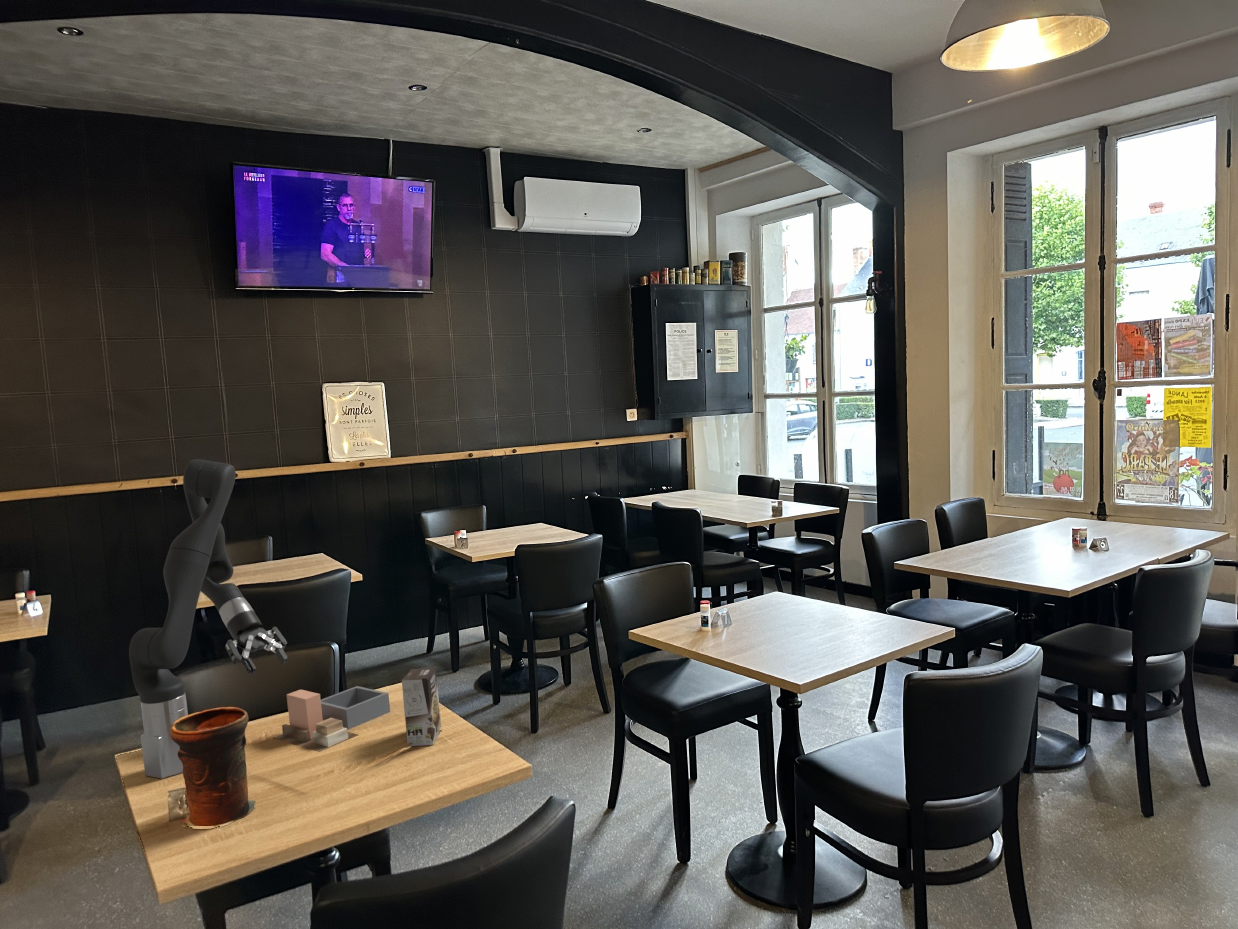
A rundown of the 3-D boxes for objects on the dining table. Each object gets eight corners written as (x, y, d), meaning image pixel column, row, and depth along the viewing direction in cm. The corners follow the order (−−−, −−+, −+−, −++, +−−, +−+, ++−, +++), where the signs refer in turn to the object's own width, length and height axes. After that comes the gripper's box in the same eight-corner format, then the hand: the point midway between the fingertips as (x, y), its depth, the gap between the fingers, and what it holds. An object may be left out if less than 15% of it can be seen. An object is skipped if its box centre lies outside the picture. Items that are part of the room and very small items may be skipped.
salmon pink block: (290, 733, 215) (286, 694, 214) (305, 728, 218) (300, 689, 217) (309, 739, 210) (305, 699, 209) (324, 733, 213) (320, 694, 213)
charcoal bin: (317, 724, 223) (314, 702, 222) (359, 707, 233) (357, 686, 233) (348, 733, 215) (346, 709, 215) (390, 715, 225) (388, 693, 225)
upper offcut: (316, 732, 208) (315, 724, 208) (332, 725, 211) (331, 717, 211) (327, 735, 205) (326, 727, 205) (343, 728, 209) (342, 720, 209)
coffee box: (434, 745, 203) (427, 678, 202) (406, 747, 204) (400, 680, 202) (442, 730, 213) (436, 666, 211) (416, 732, 213) (410, 667, 211)
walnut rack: (273, 741, 213) (272, 727, 213) (312, 725, 222) (311, 712, 222) (320, 755, 202) (318, 741, 202) (359, 738, 211) (357, 724, 211)
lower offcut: (313, 742, 208) (312, 732, 208) (333, 734, 213) (332, 724, 212) (328, 747, 205) (327, 736, 204) (348, 738, 209) (347, 728, 209)
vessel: (180, 807, 180) (172, 713, 179) (255, 792, 186) (247, 701, 184) (176, 838, 167) (167, 737, 165) (256, 820, 173) (248, 722, 171)
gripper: (218, 616, 219) (248, 666, 214) (269, 603, 231) (299, 650, 225) (209, 635, 223) (239, 684, 217) (260, 621, 234) (289, 667, 229)
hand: (269, 667), depth 221 cm, fingers open, 8 cm apart
